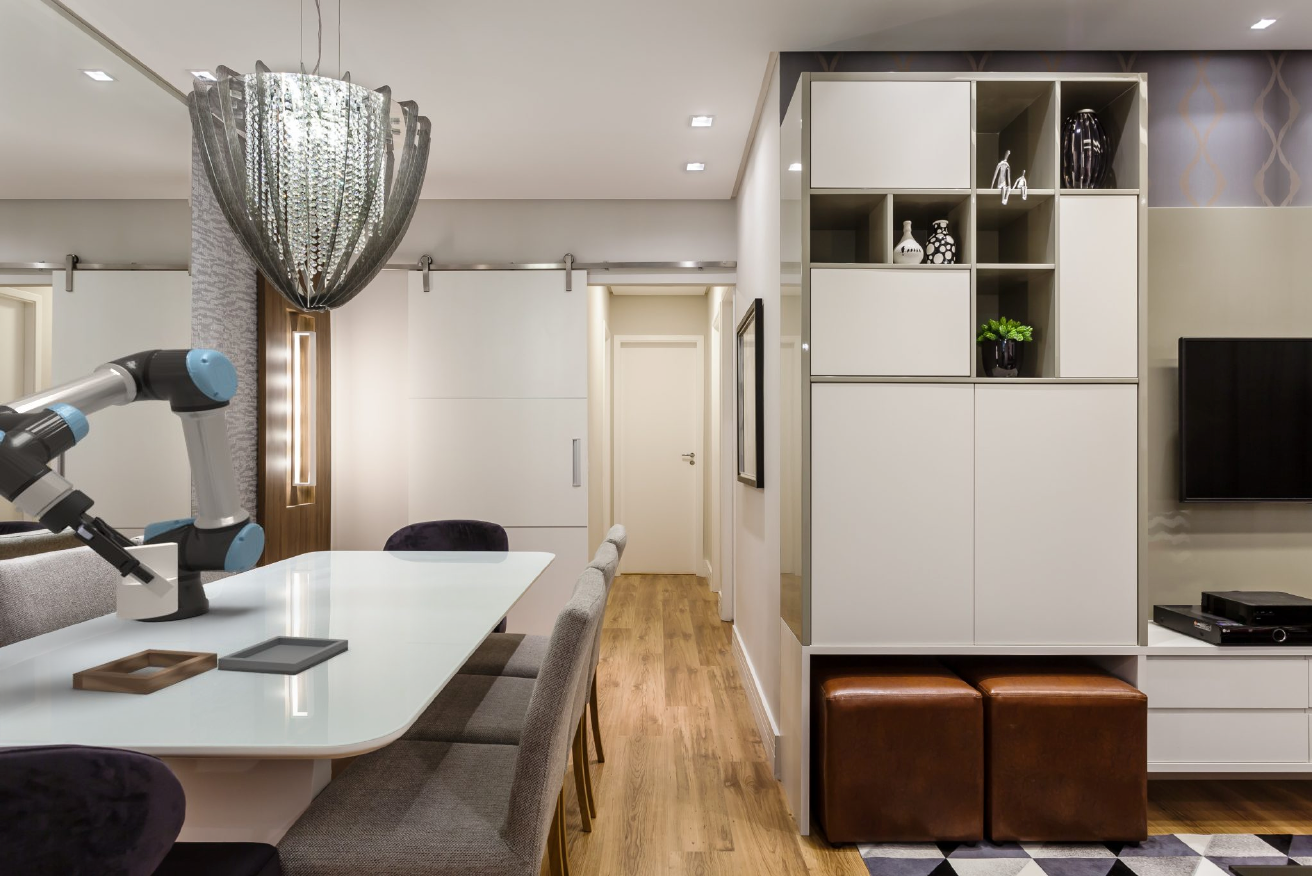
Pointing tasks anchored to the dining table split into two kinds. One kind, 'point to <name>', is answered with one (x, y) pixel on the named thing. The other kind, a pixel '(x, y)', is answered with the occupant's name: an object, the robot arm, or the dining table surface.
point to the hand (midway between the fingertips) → (169, 586)
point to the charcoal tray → (283, 655)
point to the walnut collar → (120, 679)
